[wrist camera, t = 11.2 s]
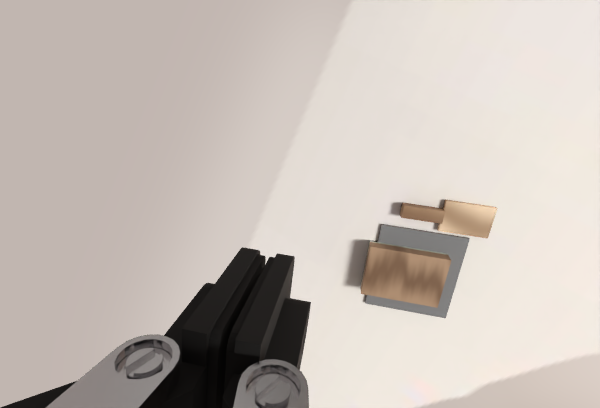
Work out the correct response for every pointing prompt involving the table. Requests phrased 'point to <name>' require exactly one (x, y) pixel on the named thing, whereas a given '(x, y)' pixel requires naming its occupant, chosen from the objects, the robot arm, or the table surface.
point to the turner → (454, 217)
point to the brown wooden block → (405, 274)
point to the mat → (428, 242)
